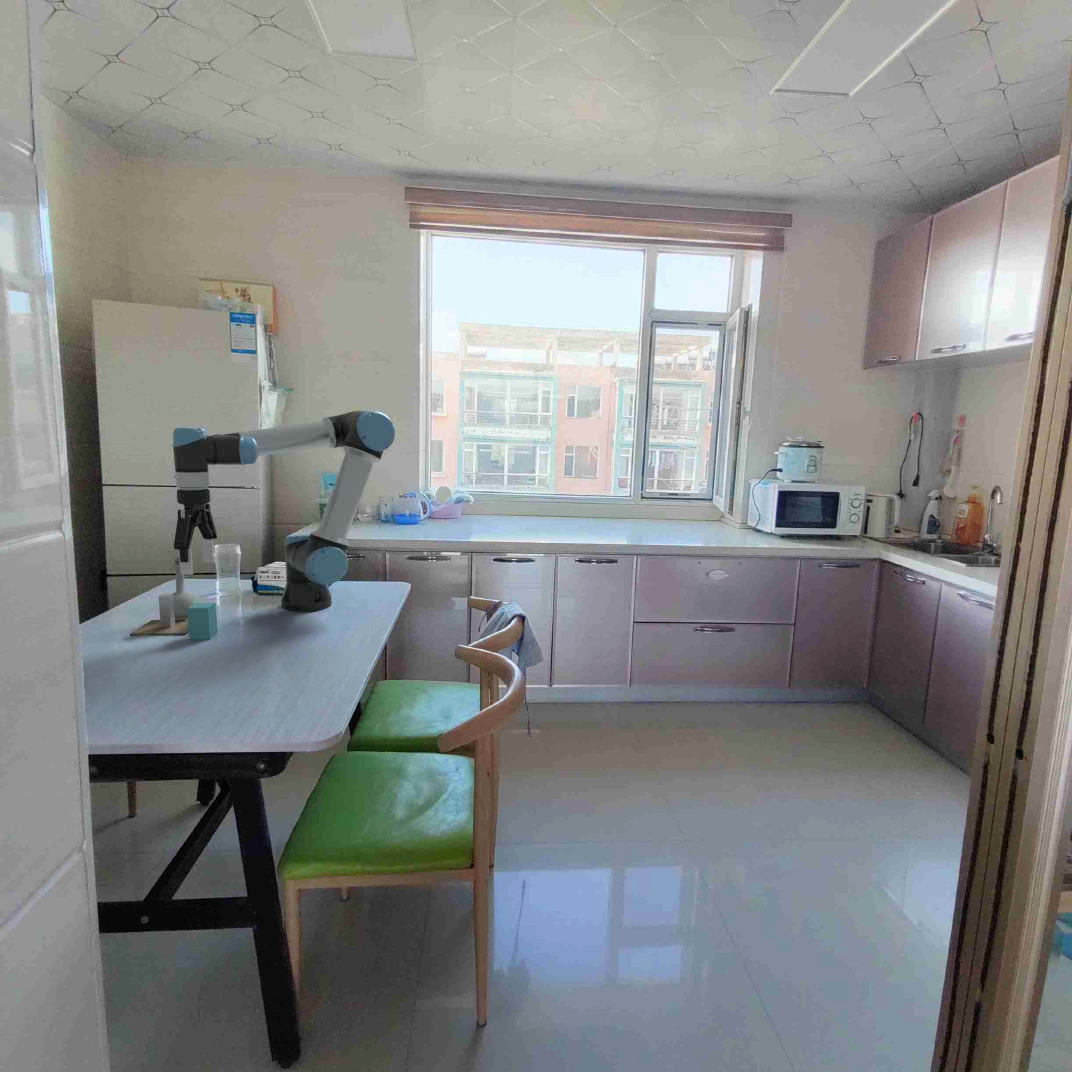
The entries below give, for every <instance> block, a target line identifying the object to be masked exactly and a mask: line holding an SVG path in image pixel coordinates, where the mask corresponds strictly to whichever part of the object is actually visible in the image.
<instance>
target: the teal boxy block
mask: <svg viewBox="0 0 1072 1072" xmlns="http://www.w3.org/2000/svg"><path fill="white" fill-rule="evenodd" d="M187 614H188V619H187V620H188V629H189V633H188V640H192V641H193V640H211V639H212V638H213V637H214V636H216V635H217V634H218V615H217V604H216V602H197V603H194V604H193V605H191V606H190V607H188V608H187Z"/></svg>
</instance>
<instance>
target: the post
mask: <svg viewBox="0 0 1072 1072" xmlns="http://www.w3.org/2000/svg"><path fill="white" fill-rule="evenodd" d="M158 606H159V620H160V622H161V628H171V627H173V626H174V625H175V615H174V601H173V594H172V593H162V594H160V595H158Z"/></svg>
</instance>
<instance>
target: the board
mask: <svg viewBox="0 0 1072 1072" xmlns="http://www.w3.org/2000/svg"><path fill="white" fill-rule="evenodd" d="M187 635H189V629H188V619H186V620H175V625H174V626H173V627H171V628H161V622H160V619H151V620H149V621H147V622H146V623H145V624H143V625H141V626H139V627H138V628H137V629H135V630H133V631H132V632H130V633H129V636H130V637H132V636H133V637H136V636H137V637H138V636H139V637H142V636H145V637H146V636H147V637H151V636H154V637H155V636H159V637H160V636H187Z"/></svg>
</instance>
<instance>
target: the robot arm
mask: <svg viewBox="0 0 1072 1072" xmlns="http://www.w3.org/2000/svg"><path fill="white" fill-rule="evenodd" d="M395 437H396V430H395V426H394V423H393V421H392V420H391V419H390V417H389V416H388V415H386V414H385V413H383V412H381V411H377V410H371V409H369V410H353V411H348V412H345V413H342V414H341V413H340V414H338V415H333V416H328V417H324V418H322V420H321V421H320V420H319V421H315V422H308V423H307V422H306V423H300V424H292V425H285V426H276V427H269V428H261V429H255V430H254V429H252V430H247V431H245V430H244V431H240V432H239V431H238V432H230V433H224V434H223V433H222V434H221V433H220V434H219V433H218V434H212V435H208V434H207V431H206V429H205V428H203V427H176V428H174V429H173V432H172V439H173V440H172V442H173V444H172V448H173V449H172V450H173V460H174V461H173V462H174V471H175V472H174V476H173V478H174V479H175V485H176V486H175V487H177V490H176V501H177V504H179V505H183V509H178V510H177V521H176V528H175V533H174V534H175V535H174V541H173V549H174V550H176V551H177V550H178V557H179V559H180V573H181V575H184V576H185V575H187V576H189V575H190V576H191V575H194V567H193V566H194V565H193V552H192V551H193V550H192V548H190V547H191V544H192V540H193V538H194V537H193V536H194V533H195V528H196V527H197V528H198V530H199V532H200V534H201V536H202V539H201V549H202V550H201V551H202V563H203V564H214V563H215V546H214V539H215V540H217V539H218V535H217V529H216V525H215V523H214V520H213V515H212V512H211V505H210V502H211V491H210V489H209V488H208V487H211V486H210V474H209V465H210V466H216V465H220V466H221V465H222V466H223V465H224V466H225V465H227V466H228V465H229V466H231V465H232V466H233V465H234V466H235V465H238V466H239V465H240V466H245V465H253V464H256V462H257V460H258V457H262V456H267V455H276V454H281V453H288V452H289V453H290V452H295V451H301V450H307V449H313V448H314V449H315V448H321V447H328V448H330V449H335V448H342V449H343V451H344V457H343V460H342V462H341V466H340V468H339V469H338V470H339V471H338V474H337V476H336V479H335V482H334V484H333V486H332V487H333V488H332V490H331V492H330V495H329V498H328V500H327V504H326V507H325V508H324V512H323V515H322V517H321V520H320V523H319V525H318V526H317V527H318V528H317V529H315V530H314V531H313V530H312V531H311V532H310V533H304V534H303V533H302V534H291V535H287V536H286V537H285V538H284V556H285V557H284V558H285V579H286V580H285V581H286V583H285V587H284V590H283V594H282V596H281V600H280V601H281V602H280V603H281V608H282V609H283V610H285V611H289V612H299V613H301V612H315V611H320V610H324V609H326V608H329V607H330V606H332V604H333V599H332V593H331V592H330V588H329V587H328V585H333V584H335V583H337V582H338V581H340V580H342V578H343V577H344V575H345V574H346V573H347V571H348V568H349V560H348V559H349V558H348V557H347V552H348V550H349V547H350V543H349V542H348V539H347V538H348V534H349V531H350V530H351V529H350V528H351V527H352V523H353V521H354V518H355V515H356V513H357V510H358V507H359V505H360V501H361V499H362V497H363V493H364V491H365V487H366V485H367V482H368V480H369V476H370V474H371V471H372V468H373V466H374V464H376V463H379V462H381V458H382V456H383V454H384V451H386V450H387V449H389V448H390V447H391V446H392V444H393V443H394V441H395Z"/></svg>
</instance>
